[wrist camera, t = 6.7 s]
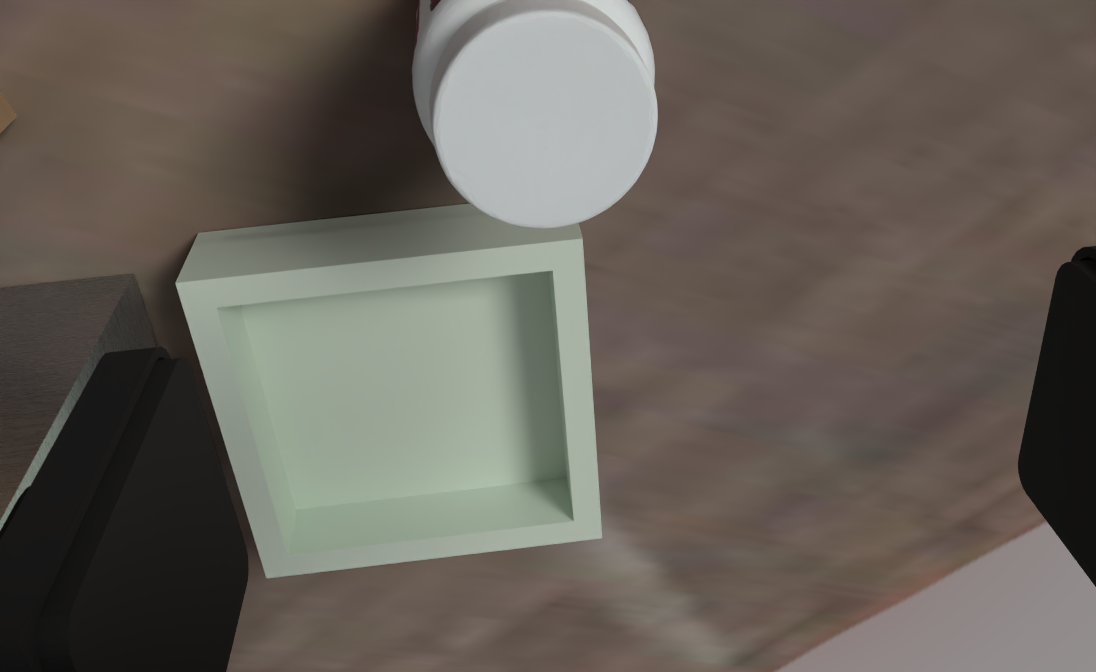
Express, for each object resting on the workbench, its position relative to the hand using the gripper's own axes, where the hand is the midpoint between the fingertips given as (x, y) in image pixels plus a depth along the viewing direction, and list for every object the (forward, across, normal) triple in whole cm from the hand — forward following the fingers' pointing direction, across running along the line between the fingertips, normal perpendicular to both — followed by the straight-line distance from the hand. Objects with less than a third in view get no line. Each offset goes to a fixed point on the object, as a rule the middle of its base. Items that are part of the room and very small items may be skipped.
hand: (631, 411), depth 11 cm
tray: (+16, +4, +10) cm, 20 cm away
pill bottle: (+17, 0, 0) cm, 17 cm away
